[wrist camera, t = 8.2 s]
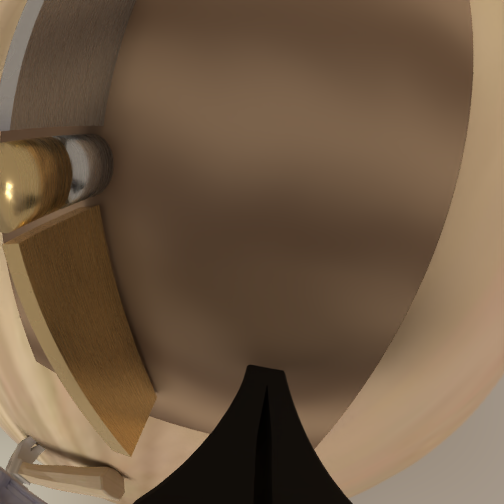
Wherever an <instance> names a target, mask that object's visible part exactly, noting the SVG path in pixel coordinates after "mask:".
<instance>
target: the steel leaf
mask: <svg viewBox="0 0 504 504" xmlns="http://www.w3.org/2000/svg"><path fill="white" fill-rule="evenodd" d="M135 2H136V0H28V1H27V3H26V5H25V7H24V10H23V12H22V14H21V17H20V19H19V22H18V25H17V27H16V30H15V33H14V36H13V39H12V42H11V45H10V48H9V51H8V55H7V58H6V62H5V65H4V69H3V73H2V78H1V82H0V131H9V130H18V129H29V128H42V127H60V126H103V124H104V118H105V112H106V106H107V101H108V96H109V91H110V86H111V81H112V77H113V73H114V69H115V65H116V61H117V57H118V53H119V50H120V46H121V43H122V40H123V37H124V33H125V30H126V27H127V24H128V21H129V19H130V16H131V13H132V10H133V8H134V5H135ZM52 137H54V138H56V139H58V140H59V141H60V142H61V143H62V144H63V145H64V147H65V148H66V150H67V152H68V155H69V158H70V162H71V168H72V183H71V189H70V193H69V196H68V198H67V200H66V202H65V204H64V205H63V206H62V207H61V208H60V209H63V208H65V207H68V206H70V205H73V204H75V203H78V202H80V201H83V200H86V199H88V198H91V197H94V196H96V195H98V194H100V193H102V192H103V191H104V190H105V189H106V187H107V186H108V184H109V182H110V180H111V177H112V174H113V165H114V163H113V155H112V151H111V149H110V147H109V145H108V143H107V142H106V141H105V140H104V139H103V138H102V137H101V136H99V135H96V134H75V135H61V136H52ZM60 209H59V210H60Z"/></svg>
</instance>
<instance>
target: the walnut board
mask: <svg viewBox="0 0 504 504" xmlns="http://www.w3.org/2000/svg"><path fill="white" fill-rule="evenodd" d="M472 81H473V31H472V18H471V8H470V0H136V2H135V5H134V8H133V10H132V13H131V16H130V19H129V21H128V24H127V27H126V30H125V33H124V37H123V40H122V43H121V46H120V50H119V53H118V57H117V61H116V65H115V69H114V73H113V77H112V81H111V86H110V91H109V96H108V101H107V106H106V112H105V118H104V124H103V126H60V127H42V128H29V129H18V130H9V131H1V136H0V143H3V142H9V141H16V140H23V139H31V138H40V137H52V136H61V135H75V134H96V135H99V136H101V137H102V138H103V139H104V140H105V141H106V142H107V143H108V145H109V147H110V149H111V151H112V155H113V163H114V165H113V174H112V177H111V180H110V182H109V184H108V186H107V187H106V189H105V190H104V191H103V192H102V193H100V194H98V195H96V196H94V197H91V198H88V199H86V200H83V201H80V202H78V203H75V204H73V205H70V206H68V207H65V208H63V209H60V210H58V211H56V212H53V213H51V214H49V215H46V216H44V217H42V218H40V219H37V220H35V221H33V222H31V223H29V224H26V225H24V226H22V227H20V228H18V229H16V230H14V231H12V232H10V233H2V234H3V242H4V243H6V242H8V241H10V240H12V239H13V238H15V237H17V236H19V235H21V234H23V233H25V232H27V231H29V230H31V229H33V228H35V227H37V226H39V225H42V224H44V223H46V222H48V221H50V220H52V219H54V218H57V217H59V216H61V215H63V214H66V213H68V212H70V211H73V210H75V209H77V208H80V207H86V206H94V205H99V207H100V213H101V218H102V224H103V229H104V234H105V239H106V244H107V248H108V253H109V257H110V261H111V265H112V269H113V273H114V277H115V281H116V284H117V288H118V292H119V295H120V298H121V302H122V305H123V308H124V312H125V315H126V318H127V321H128V324H129V327H130V330H131V333H132V336H133V339H134V341H135V344H136V347H137V350H138V352H139V355H140V357H141V360H142V363H143V365H144V368H145V370H146V373H147V375H148V377H149V380H150V382H151V384H152V387H153V389H154V391H155V394H156V396H157V399H156V401H155V403H154V406H153V408H152V410H151V412H150V415H149V416H151V417H154V418H157V419H160V420H163V421H166V422H169V423H173V424H176V425H179V426H183V427H186V428H190V429H193V430H197V431H201V432H205V433H209V434H211V432H212V431H213V430H214V429H215V427H216V426H217V424H218V423H219V422H220V420H221V419H222V417H223V416H224V414H225V413H226V411H227V410H228V408H229V407H230V405H231V403H232V401H233V400H234V398H235V396H236V394H237V392H238V390H239V388H240V386H241V384H242V381H243V378H244V374H245V371H246V368H247V366H248V365H250V364H251V365H256V366H261V367H267V368H272V369H277V370H283V371H284V372H285V374H286V379H287V382H288V386H289V390H290V393H291V396H292V399H293V402H294V405H295V408H296V410H297V413H298V416H299V418H300V421H301V423H302V426H303V428H304V430H305V432H306V434H307V437H308V439H309V441H310V443H311V445H312V447H313V449H315V448H316V446H317V445H318V444H319V443H320V442H321V441H322V439H323V438H324V437H325V436H326V435H327V434H328V432H329V431H330V430H331V429H332V427H333V426H334V425H335V424H336V422H337V421H338V420H339V419H340V417H341V416H342V415H343V413H344V412H345V411H346V410H347V408H348V407H349V406H350V404H351V403H352V401H353V400H354V399H355V397H356V396H357V394H358V393H359V392H360V390H361V389H362V387H363V386H364V384H365V383H366V381H367V380H368V378H369V377H370V375H371V374H372V372H373V371H374V369H375V368H376V366H377V365H378V363H379V361H380V360H381V358H382V356H383V355H384V353H385V351H386V350H387V348H388V346H389V345H390V343H391V341H392V339H393V338H394V336H395V334H396V332H397V330H398V329H399V327H400V325H401V323H402V321H403V319H404V317H405V315H406V314H407V312H408V310H409V308H410V306H411V304H412V301H413V299H414V297H415V295H416V293H417V291H418V289H419V287H420V284H421V282H422V280H423V278H424V275H425V273H426V271H427V268H428V266H429V264H430V261H431V259H432V256H433V254H434V251H435V248H436V246H437V243H438V240H439V238H440V235H441V232H442V229H443V226H444V223H445V220H446V217H447V214H448V211H449V207H450V204H451V201H452V197H453V194H454V190H455V186H456V182H457V178H458V174H459V170H460V166H461V161H462V157H463V152H464V146H465V141H466V135H467V129H468V122H469V114H470V106H471V95H472ZM7 266H8V264H7ZM8 271H9V275H10V280H11V284H12V289H13V293H14V296H15V300H16V304H17V307H18V311H19V314H20V318H21V321H22V324H23V327H24V330H25V333H26V336H27V339H28V341H29V344H30V347H31V349H32V352H33V354H34V357H35V359H36V361H37V362H38V363H40V364H42V365H43V366H45V367H47V368H48V369H50V370H52V371H53V372H55V371H54V369H53V367H52V365H51V364H50V362H49V360H48V358H47V356H46V355H45V353H44V351H43V349H42V347H41V345H40V343H39V341H38V339H37V337H36V335H35V333H34V331H33V329H32V327H31V324H30V322H29V320H28V318H27V315H26V313H25V311H24V308H23V306H22V303H21V301H20V298H19V296H18V293H17V290H16V288H15V285H14V282H13V279H12V276H11V273H10V270H9V267H8ZM55 373H56V372H55Z"/></svg>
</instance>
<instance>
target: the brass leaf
mask: <svg viewBox="0 0 504 504" xmlns="http://www.w3.org/2000/svg"><path fill="white" fill-rule="evenodd" d="M71 183H72V168H71V162H70V158H69V155H68V152H67V150H66V148H65V147H64V145H63V144H62V143H61V142H60V141H59V140H58V139H56V138H54V137H40V138H31V139H23V140H16V141H9V142H3V143H0V232H2V233H10V232H12V231H14V230H16V229H18V228H20V227H22V226H24V225H26V224H29V223H31V222H33V221H35V220H37V219H40V218H42V217H44V216H46V215H49V214H51V213H53V212H56V211H58V210H59V209H60V208H61V207H62V206H63V205H64V204H65V202H66V200H67V198H68V196H69V193H70V189H71ZM2 246H3V250H4V254H5V257H6V260H7V264H8V267H9V270H10V273H11V276H12V279H13V282H14V285H15V288H16V290H17V293H18V296H19V298H20V301H21V303H22V306H23V308H24V311H25V313H26V315H27V318H28V320H29V322H30V324H31V327H32V329H33V331H34V333H35V335H36V337H37V339H38V341H39V343H40V345H41V347H42V349H43V351H44V353H45V355H46V356H47V358H48V360H49V362H50V364H51V365H52V367H53V369H54V371H55V372H56V374H57V376H58V377H59V379H60V381H61V382H62V384H63V385H64V387H65V389H66V390H67V392H68V393H69V395H70V396H71V398H72V399H73V401H74V402H75V403H76V405H77V406H78V408H79V409H80V411H81V412H82V413H83V415H84V416H85V417H86V419H87V420H88V421H89V423H90V424H91V425H92V427H93V428H94V429H95V430H96V432H97V433H98V434H99V435H100V436H101V438H102V439H103V440H104V441H105V442H106V444H107V445H108V446H109V447H110V448H111V449H112V450H113V451H114V452H117V453H120V454H123V455H126V456H129V457H131V456H132V453H133V451H134V449H135V446H136V444H137V442H138V439H139V437H140V435H141V433H142V430H143V428H144V426H145V424H146V421H147V419H148V417H149V415H150V412H151V410H152V408H153V406H154V403H155V401H156V399H157V396H156V394H155V391H154V389H153V387H152V384H151V382H150V380H149V377H148V375H147V373H146V370H145V368H144V365H143V363H142V360H141V357H140V355H139V352H138V350H137V347H136V344H135V341H134V339H133V336H132V333H131V330H130V327H129V324H128V321H127V318H126V315H125V312H124V308H123V305H122V302H121V298H120V295H119V292H118V288H117V284H116V281H115V277H114V273H113V269H112V265H111V261H110V257H109V253H108V248H107V244H106V239H105V234H104V229H103V224H102V218H101V213H100V207H99V205H94V206H86V207H80V208H77V209H75V210H73V211H70V212H68V213H66V214H63V215H61V216H59V217H57V218H54V219H52V220H50V221H48V222H46V223H44V224H42V225H39V226H37V227H35V228H33V229H31V230H29V231H27V232H25V233H23V234H21V235H19V236H17V237H15V238H13V239H12V240H10V241H8V242H6V243H4V244H2Z"/></svg>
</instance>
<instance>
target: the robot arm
mask: <svg viewBox="0 0 504 504" xmlns="http://www.w3.org/2000/svg"><path fill="white" fill-rule="evenodd" d="M0 504H47V503H46V502H44V501H43V500H41V499H40V498H39V497H37V496H36V495H34V494H33V493H32V492H30V491H29V490H28V489H27V488H26V487H25V486H24V485H23V484H21V483H20V482H19V481H18V480H16V479H15V478H14V477H13V476H12V475H10V474H9V473H8V472H7V471H5V470H4V469H3V468H1V467H0ZM133 504H352V502H351V501H350V500H349V499H348V498H347V497H346V496H345V495H344V493H343V492H342V491H341V489H340V488H339V487H338V486H337V484H336V483H335V482H334V480H333V479H332V478H331V476H330V475H329V473H328V472H327V470H326V469H325V467H324V466H323V464H322V463H321V461H320V459H319V458H318V456H317V454H316V452H315V450H314V449H313V447H312V445H311V443H310V441H309V439H308V437H307V434H306V432H305V430H304V428H303V426H302V423H301V421H300V418H299V416H298V413H297V410H296V408H295V405H294V402H293V399H292V396H291V393H290V390H289V386H288V382H287V379H286V374H285V372H284V371H283V370H277V369H272V368H267V367H261V366H256V365H251V364H250V365H248V366H247V368H246V371H245V374H244V378H243V381H242V384H241V386H240V388H239V390H238V392H237V394H236V396H235V398H234V400H233V401H232V403H231V405H230V407H229V408H228V410H227V411H226V413H225V414H224V416H223V417H222V419H221V420H220V422H219V423H218V424H217V426H216V427H215V429H214V430H213V431H212V432H211V434H210V435H209V436H208V437H207V439H206V440H205V441H204V442H203V443H202V444H201V446H200V447H199V448H198V449H197V450H196V451H195V452H194V453H193V454H192V455H191V456H190V457H189V458H188V459H187V460H186V461H185V462H184V463H183V464H182V465H181V466H180V467H179V468H178V469H177V470H175V471H174V472H173V473H172V474H171V475H170V476H169V477H167V478H166V479H165V480H164V481H163V482H161V483H160V484H159V485H157V486H156V487H155V488H153V489H152V490H150V491H149V492H148V493H146V494H145V495H143V496H142V497H140V498H139V499H137V500H136V501H135V502H134V503H133Z"/></svg>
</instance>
